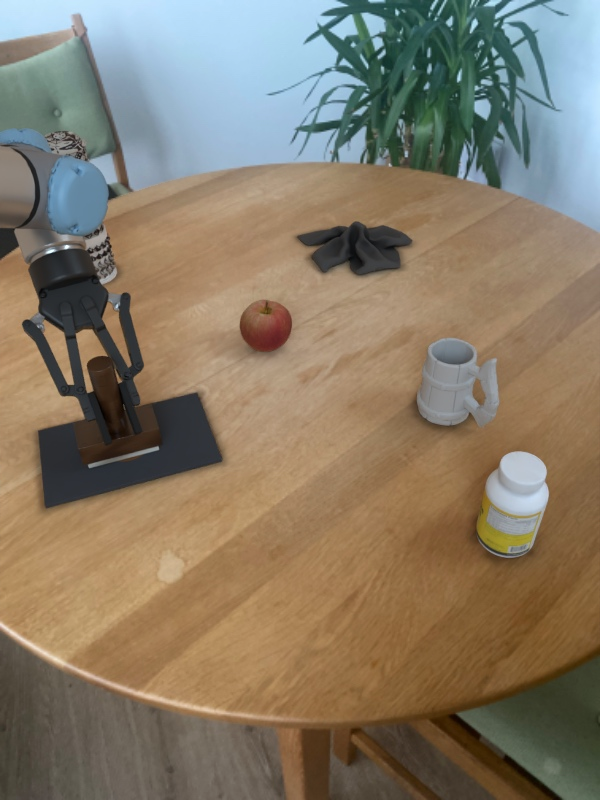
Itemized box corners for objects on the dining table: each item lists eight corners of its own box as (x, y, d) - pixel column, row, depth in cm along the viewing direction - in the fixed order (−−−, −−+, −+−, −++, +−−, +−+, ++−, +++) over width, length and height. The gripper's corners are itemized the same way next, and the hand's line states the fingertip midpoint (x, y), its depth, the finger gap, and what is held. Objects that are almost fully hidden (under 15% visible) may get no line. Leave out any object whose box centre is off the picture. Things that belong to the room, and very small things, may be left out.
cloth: (414, 231, 133) (417, 201, 129) (405, 280, 119) (408, 248, 115) (303, 223, 136) (303, 194, 132) (282, 269, 123) (281, 238, 119)
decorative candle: (108, 257, 128) (77, 121, 111) (127, 278, 122) (96, 138, 105) (61, 271, 124) (21, 133, 108) (77, 293, 118) (37, 151, 102)
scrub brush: (85, 471, 85) (57, 386, 76) (80, 445, 88) (53, 360, 79) (163, 450, 87) (146, 365, 78) (155, 425, 91) (138, 342, 82)
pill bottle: (505, 506, 80) (525, 436, 72) (545, 545, 76) (570, 475, 68) (462, 528, 78) (477, 458, 70) (501, 570, 73) (521, 500, 66)
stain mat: (46, 508, 81) (44, 504, 81) (39, 433, 91) (37, 429, 91) (222, 461, 87) (221, 457, 86) (197, 395, 97) (197, 391, 96)
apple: (288, 327, 109) (287, 284, 104) (296, 357, 103) (294, 313, 98) (239, 332, 108) (235, 289, 103) (244, 362, 102) (239, 319, 97)
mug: (439, 383, 97) (450, 314, 89) (508, 424, 91) (525, 353, 83) (403, 407, 94) (411, 336, 86) (472, 452, 87) (487, 380, 79)
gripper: (120, 252, 89) (181, 419, 88) (-8, 284, 83) (58, 463, 83) (124, 231, 81) (191, 413, 81) (-15, 265, 76) (56, 460, 76)
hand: (123, 438), depth 82 cm, fingers closed on scrub brush, 3 cm apart
